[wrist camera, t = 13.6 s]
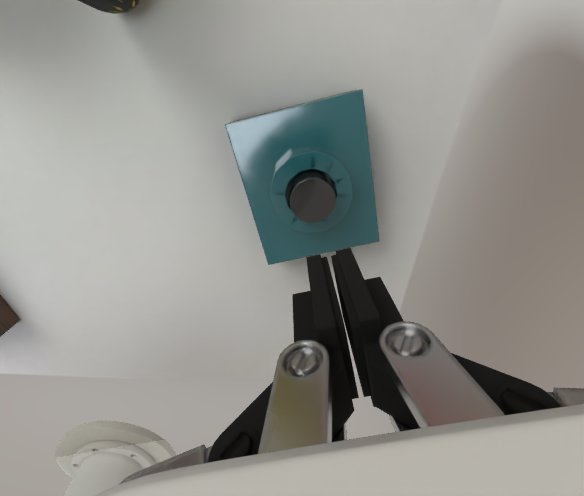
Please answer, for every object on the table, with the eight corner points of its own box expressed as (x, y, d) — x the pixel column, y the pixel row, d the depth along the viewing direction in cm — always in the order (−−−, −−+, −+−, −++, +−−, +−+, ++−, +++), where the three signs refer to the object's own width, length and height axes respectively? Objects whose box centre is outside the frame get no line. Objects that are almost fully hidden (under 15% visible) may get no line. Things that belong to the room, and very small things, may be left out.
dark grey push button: (335, 208, 23) (339, 217, 21) (294, 217, 23) (295, 227, 22) (327, 167, 22) (331, 173, 20) (285, 177, 22) (285, 184, 20)
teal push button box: (370, 227, 29) (385, 250, 24) (270, 249, 30) (267, 275, 25) (353, 90, 24) (369, 88, 19) (232, 121, 25) (220, 126, 20)
